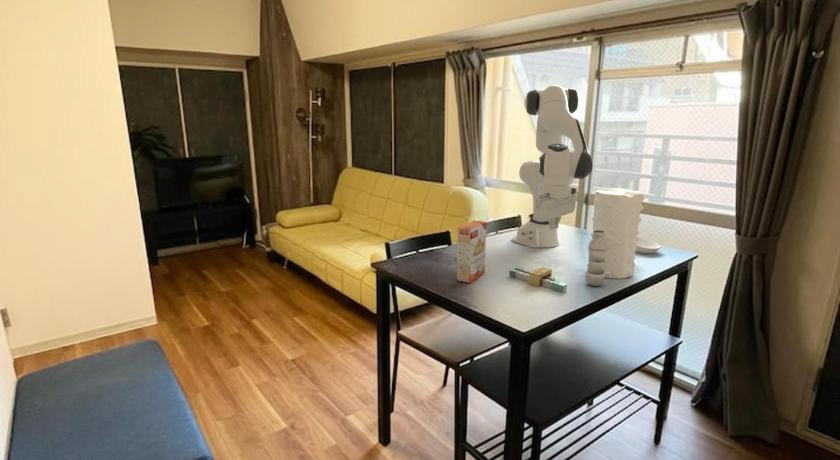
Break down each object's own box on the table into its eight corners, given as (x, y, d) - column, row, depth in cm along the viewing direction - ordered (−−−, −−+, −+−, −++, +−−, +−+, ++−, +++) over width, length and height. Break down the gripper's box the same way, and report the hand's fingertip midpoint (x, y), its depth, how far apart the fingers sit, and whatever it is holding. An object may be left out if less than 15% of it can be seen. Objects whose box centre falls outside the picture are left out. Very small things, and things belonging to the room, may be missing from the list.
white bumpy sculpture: (578, 268, 183) (584, 189, 175) (609, 262, 189) (616, 186, 181) (611, 282, 168) (619, 196, 160) (643, 275, 174) (653, 192, 166)
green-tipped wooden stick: (568, 290, 161) (569, 282, 161) (563, 292, 159) (563, 285, 158) (514, 274, 178) (514, 267, 177) (509, 276, 175) (509, 269, 175)
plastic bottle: (581, 282, 169) (585, 229, 163) (599, 281, 169) (603, 228, 164) (589, 288, 162) (593, 234, 157) (607, 287, 163) (612, 233, 158)
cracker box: (470, 284, 168) (471, 229, 163) (456, 281, 171) (456, 227, 166) (486, 272, 180) (487, 221, 174) (472, 270, 183) (473, 219, 178)
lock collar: (551, 281, 170) (551, 269, 169) (538, 287, 164) (539, 275, 163) (541, 278, 173) (542, 266, 171) (529, 284, 167) (529, 272, 166)
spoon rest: (664, 252, 203) (665, 236, 201) (653, 258, 195) (655, 241, 193) (611, 241, 219) (612, 227, 217) (600, 247, 211) (601, 232, 210)
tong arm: (553, 283, 167) (553, 276, 167) (550, 285, 166) (550, 278, 165) (517, 272, 179) (517, 266, 178) (513, 274, 177) (514, 267, 177)
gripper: (544, 197, 152) (543, 236, 156) (580, 188, 165) (577, 224, 169) (529, 194, 157) (528, 233, 161) (564, 185, 169) (562, 221, 173)
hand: (553, 228), depth 165 cm, fingers closed
